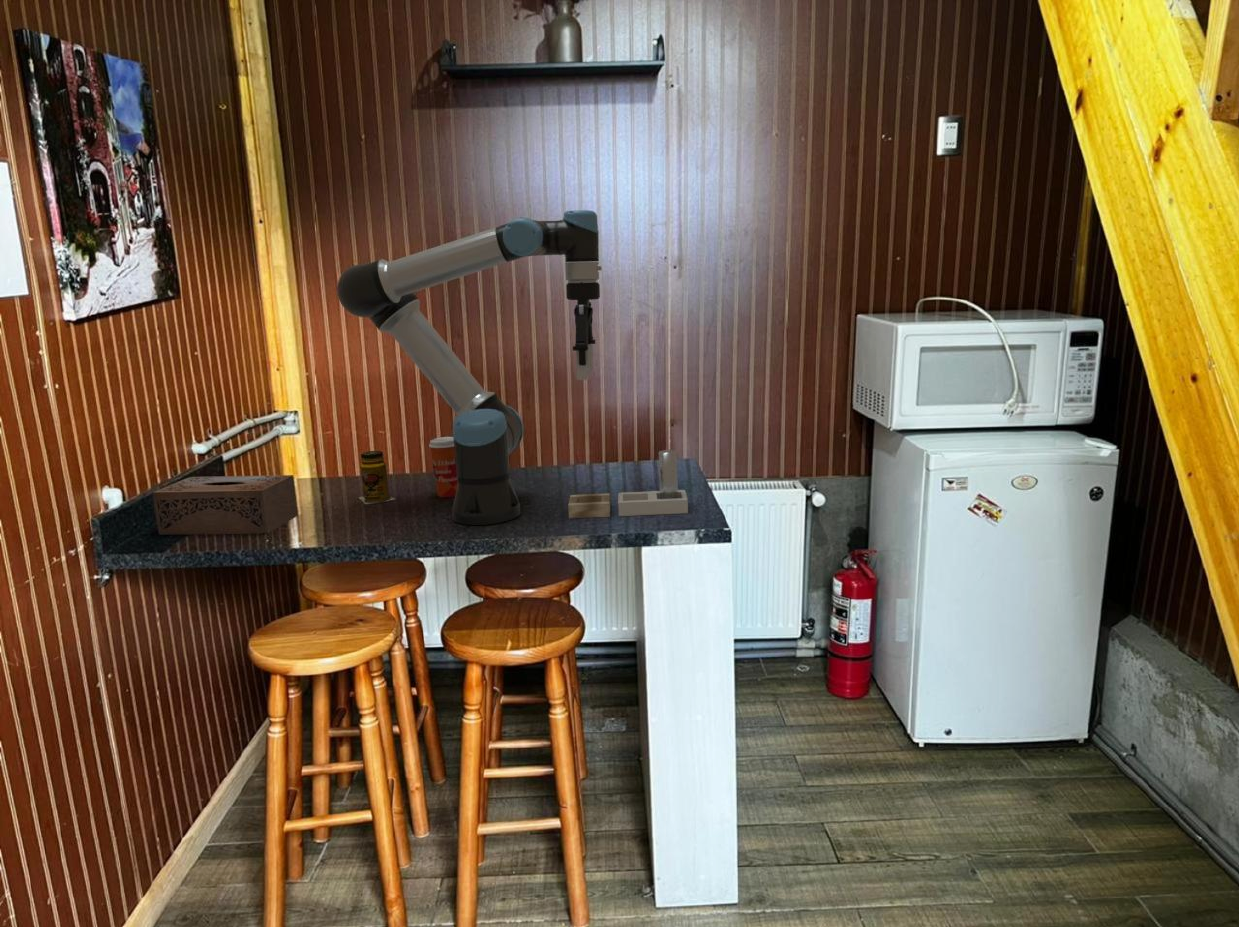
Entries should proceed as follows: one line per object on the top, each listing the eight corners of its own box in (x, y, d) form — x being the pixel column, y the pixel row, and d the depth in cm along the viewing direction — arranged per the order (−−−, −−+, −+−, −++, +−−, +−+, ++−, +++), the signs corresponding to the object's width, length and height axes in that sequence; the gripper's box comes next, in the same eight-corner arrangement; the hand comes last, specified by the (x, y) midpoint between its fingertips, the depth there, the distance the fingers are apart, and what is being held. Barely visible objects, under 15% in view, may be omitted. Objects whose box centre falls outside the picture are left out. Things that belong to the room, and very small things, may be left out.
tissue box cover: (298, 516, 212) (293, 475, 210) (267, 534, 198) (261, 490, 196) (196, 517, 216) (189, 476, 214) (159, 535, 202) (152, 492, 200)
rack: (618, 516, 199) (618, 503, 198) (618, 505, 207) (618, 492, 207) (688, 513, 198) (687, 499, 198) (685, 502, 207) (684, 489, 207)
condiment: (365, 505, 219) (360, 456, 216) (358, 498, 226) (353, 451, 224) (395, 500, 222) (390, 452, 220) (387, 493, 229) (382, 447, 227)
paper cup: (428, 498, 222) (422, 442, 219) (441, 490, 230) (436, 436, 227) (457, 498, 220) (452, 442, 217) (470, 491, 228) (465, 436, 225)
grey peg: (666, 511, 200) (664, 454, 197) (657, 508, 204) (655, 451, 201) (681, 508, 202) (680, 451, 199) (672, 505, 206) (670, 449, 203)
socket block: (568, 518, 199) (568, 505, 198) (571, 507, 207) (570, 495, 207) (609, 516, 199) (609, 503, 198) (610, 505, 207) (609, 493, 207)
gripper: (595, 282, 191) (598, 382, 195) (602, 280, 215) (604, 369, 220) (560, 283, 191) (563, 383, 196) (571, 280, 215) (573, 369, 220)
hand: (585, 376), depth 208 cm, fingers open, 13 cm apart
